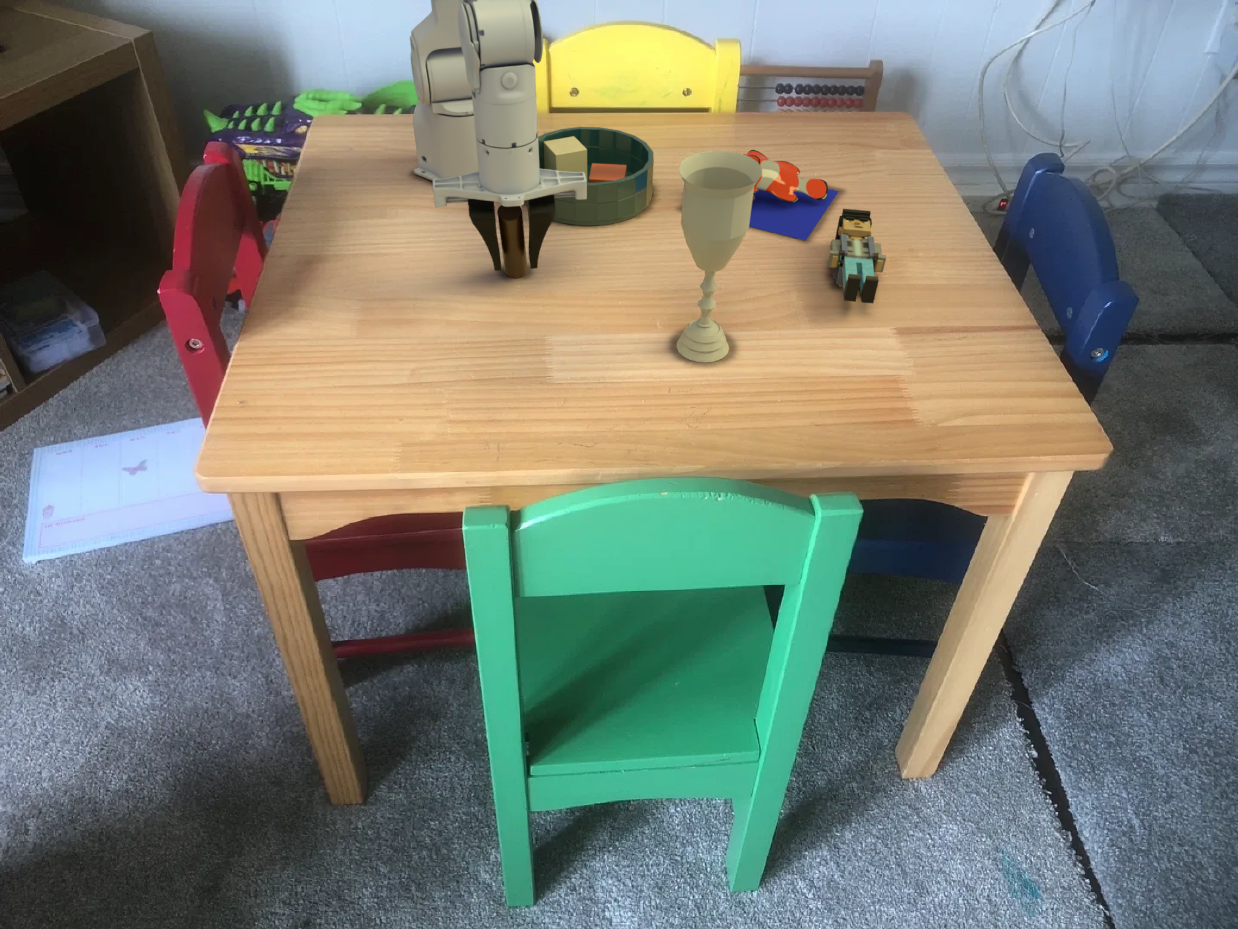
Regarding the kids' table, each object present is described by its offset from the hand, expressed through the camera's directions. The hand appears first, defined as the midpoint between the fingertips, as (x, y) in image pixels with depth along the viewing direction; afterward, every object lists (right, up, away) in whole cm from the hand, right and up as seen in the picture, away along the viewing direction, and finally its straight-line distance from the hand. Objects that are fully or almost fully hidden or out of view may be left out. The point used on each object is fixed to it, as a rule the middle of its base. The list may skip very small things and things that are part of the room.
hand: (515, 264), depth 93 cm
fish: (+28, +11, +16) cm, 34 cm away
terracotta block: (+9, +10, +14) cm, 20 cm away
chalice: (+19, -9, -5) cm, 21 cm away
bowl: (+7, +12, +17) cm, 22 cm away
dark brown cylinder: (0, 0, +3) cm, 3 cm away
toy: (+35, -1, +4) cm, 36 cm away
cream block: (+4, +15, +19) cm, 24 cm away
